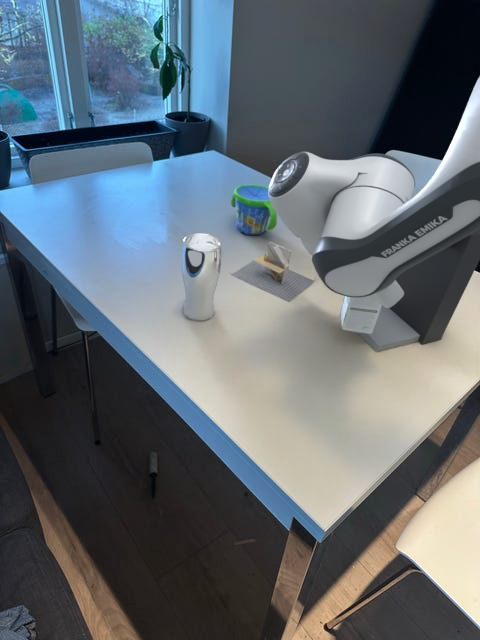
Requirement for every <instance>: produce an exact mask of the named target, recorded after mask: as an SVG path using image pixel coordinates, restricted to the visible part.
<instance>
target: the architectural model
mask: <svg viewBox="0 0 480 640" xmlns="http://www.w3.org/2000/svg"><path fill="white" fill-rule="evenodd" d="M291 256H292V250H291V249H288V248H286V247H285V246H282V245H279V244H277V243H275V242H272V241H269V242H268V245H267V253H265V254H264V255H260V256H258V257H256V258H255V259H254V260H252V261H250V262H249V263H247V264H245V265H244V266H243V267H240V268H239V269H237V270H236V271H234V272H233V273H231V274H230V275H231V276H233V277H236V278H237V279H240V280H242V281H244V282H245V283H248V284H250V285H252V286H255V287H257V288H259V289H260V290H263V291H264V292H267V293H269V294H271V295H273V296H276V297H278V298H280V299H282V300H284V301H285V302H288V303H290V302H291V301H293V300H294V299H296V297H298V296H299V295H300V294H301V293H303V291H305V290H306V289H307V288H309V287H310V286H311V285H312V284H314V283H315V282H316V280H314V279H312V278H310V277H307V276H305V275H303V274H300V273H298V272H295V271H294V270H291V269H289V268H290V261H291Z"/></svg>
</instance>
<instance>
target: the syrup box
mask: <svg viewBox="0 0 480 640" xmlns="http://www.w3.org/2000/svg"><path fill="white" fill-rule="evenodd" d="M381 306H382V305H381V304H380V303H379V302H378V301H377V300H376V299H375V298H374V297H372V296H371V295H369V296H366V297H347V296H344V298H343V301H342V304H341V308H340V311H339V316H340V323H341V329H342V331H346V332H347V331H348V332H353V333H357V332H359V333H367V334H372V332H373V329H374V326H375V324H376V321H377V318H378V315H379V312H380V309H381Z"/></svg>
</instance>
